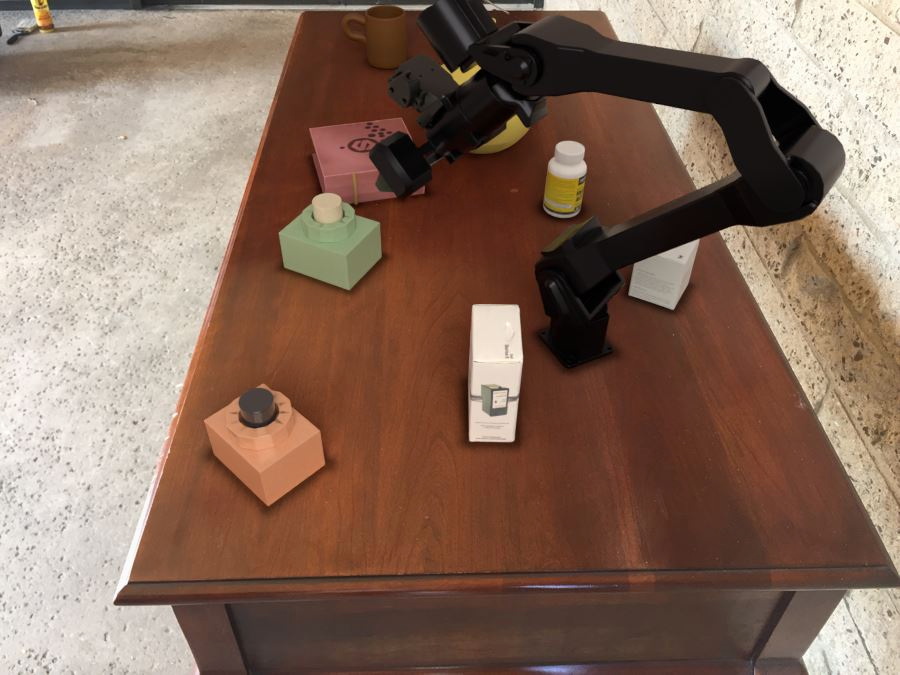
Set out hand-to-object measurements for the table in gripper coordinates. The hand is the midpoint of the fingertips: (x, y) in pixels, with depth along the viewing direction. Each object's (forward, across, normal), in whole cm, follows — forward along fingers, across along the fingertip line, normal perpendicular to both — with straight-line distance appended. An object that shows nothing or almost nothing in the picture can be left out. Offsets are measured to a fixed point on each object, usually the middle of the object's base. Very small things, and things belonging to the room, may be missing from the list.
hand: (403, 171), depth 92 cm
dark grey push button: (-1, +33, +12) cm, 35 cm away
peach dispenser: (+4, +33, +16) cm, 37 cm away
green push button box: (+16, +6, +4) cm, 17 cm away
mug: (+41, -46, -23) cm, 65 cm away
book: (+23, -13, -4) cm, 27 cm away
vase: (+18, -34, +1) cm, 38 cm away
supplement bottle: (+4, -24, +16) cm, 29 cm away
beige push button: (+10, +5, -1) cm, 12 cm away
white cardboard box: (-9, -15, +30) cm, 35 cm away
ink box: (-6, +15, +27) cm, 31 cm away
